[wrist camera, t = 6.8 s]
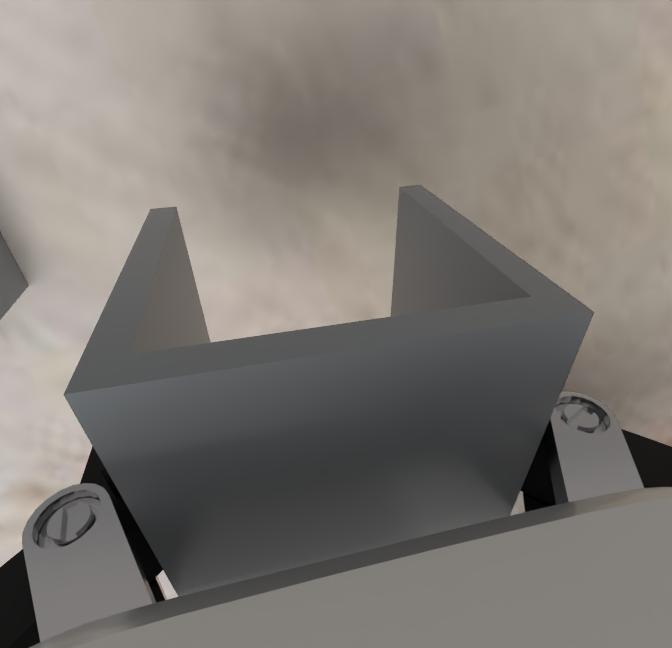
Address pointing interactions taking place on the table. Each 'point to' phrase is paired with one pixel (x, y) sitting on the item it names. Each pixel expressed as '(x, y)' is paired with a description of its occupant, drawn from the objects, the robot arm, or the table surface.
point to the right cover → (324, 404)
